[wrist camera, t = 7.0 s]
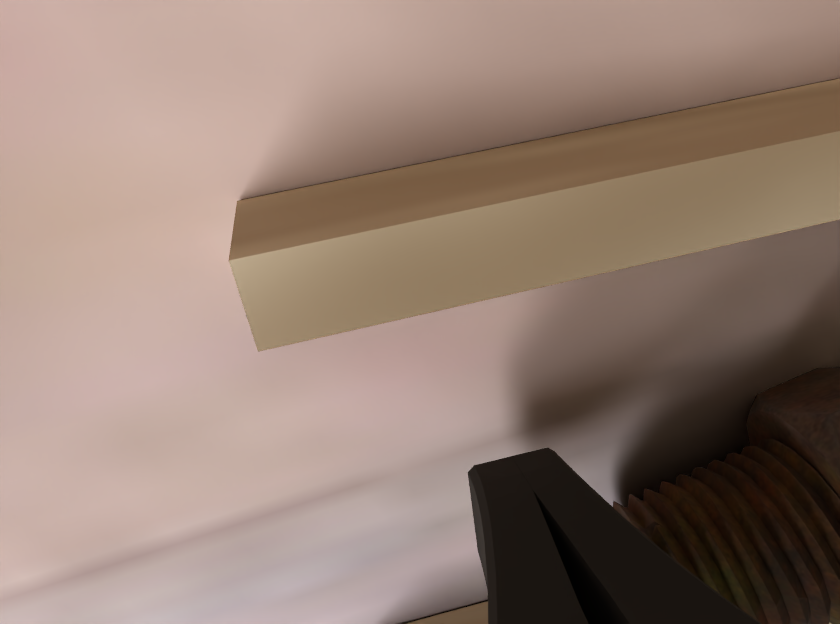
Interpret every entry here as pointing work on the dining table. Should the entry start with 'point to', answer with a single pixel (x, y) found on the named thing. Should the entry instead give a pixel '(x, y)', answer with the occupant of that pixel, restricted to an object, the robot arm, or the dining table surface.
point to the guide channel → (534, 218)
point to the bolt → (763, 509)
